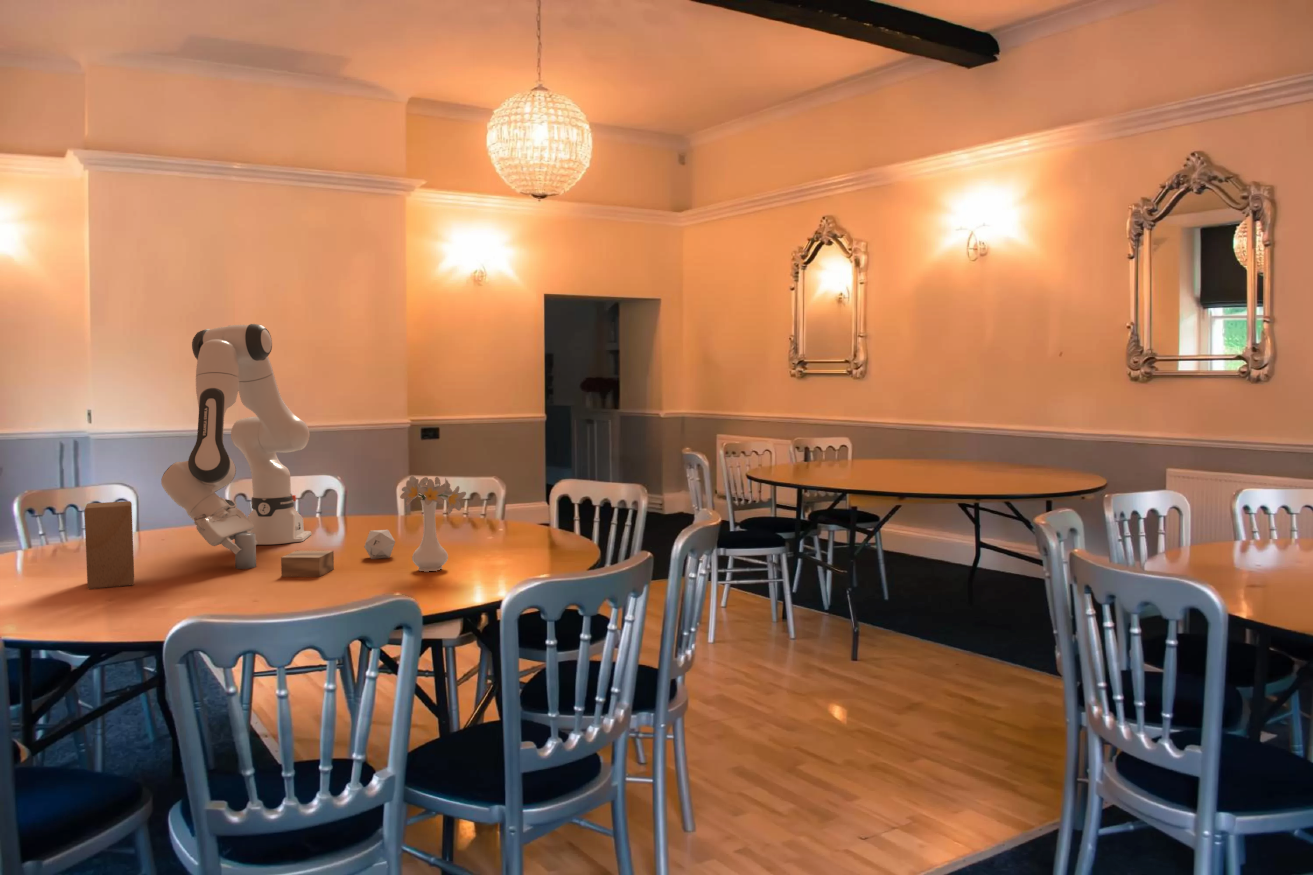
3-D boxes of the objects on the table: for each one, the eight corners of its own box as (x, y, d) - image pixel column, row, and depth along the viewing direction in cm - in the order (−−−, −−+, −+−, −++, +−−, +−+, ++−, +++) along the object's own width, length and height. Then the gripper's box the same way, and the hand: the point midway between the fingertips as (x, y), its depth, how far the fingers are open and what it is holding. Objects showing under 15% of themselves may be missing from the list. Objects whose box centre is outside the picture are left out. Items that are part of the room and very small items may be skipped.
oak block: (297, 568, 264) (296, 550, 264) (333, 569, 264) (333, 550, 264) (281, 576, 254) (281, 557, 254) (319, 576, 254) (319, 557, 254)
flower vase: (452, 576, 254) (450, 480, 252) (389, 572, 259) (387, 478, 258) (475, 567, 266) (474, 475, 265) (415, 563, 272) (414, 473, 270)
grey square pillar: (240, 565, 270) (240, 532, 269) (259, 565, 270) (258, 532, 269) (232, 568, 265) (231, 535, 264) (251, 569, 264) (250, 535, 264)
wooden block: (87, 589, 239) (84, 508, 238) (89, 581, 248) (86, 503, 247) (133, 585, 244) (131, 505, 243) (134, 578, 253) (131, 500, 252)
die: (358, 559, 281) (359, 536, 275) (374, 541, 287) (375, 517, 281) (383, 570, 279) (385, 547, 274) (399, 551, 286) (401, 528, 280)
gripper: (199, 509, 256) (236, 547, 256) (235, 499, 276) (271, 534, 276) (182, 526, 256) (220, 564, 256) (220, 515, 277) (255, 550, 277)
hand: (247, 548), depth 267 cm, fingers open, 8 cm apart
